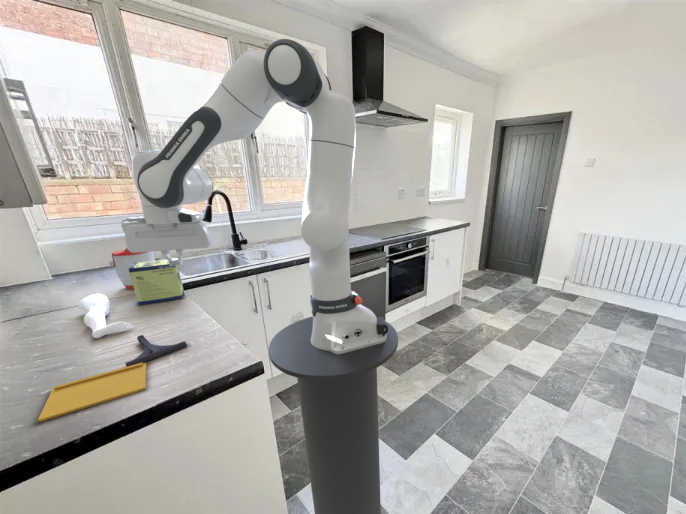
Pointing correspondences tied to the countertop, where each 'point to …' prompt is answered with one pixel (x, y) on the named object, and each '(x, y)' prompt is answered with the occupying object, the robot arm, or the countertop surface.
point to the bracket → (153, 350)
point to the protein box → (156, 281)
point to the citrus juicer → (128, 264)
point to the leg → (100, 316)
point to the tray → (94, 390)
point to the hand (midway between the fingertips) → (176, 265)
